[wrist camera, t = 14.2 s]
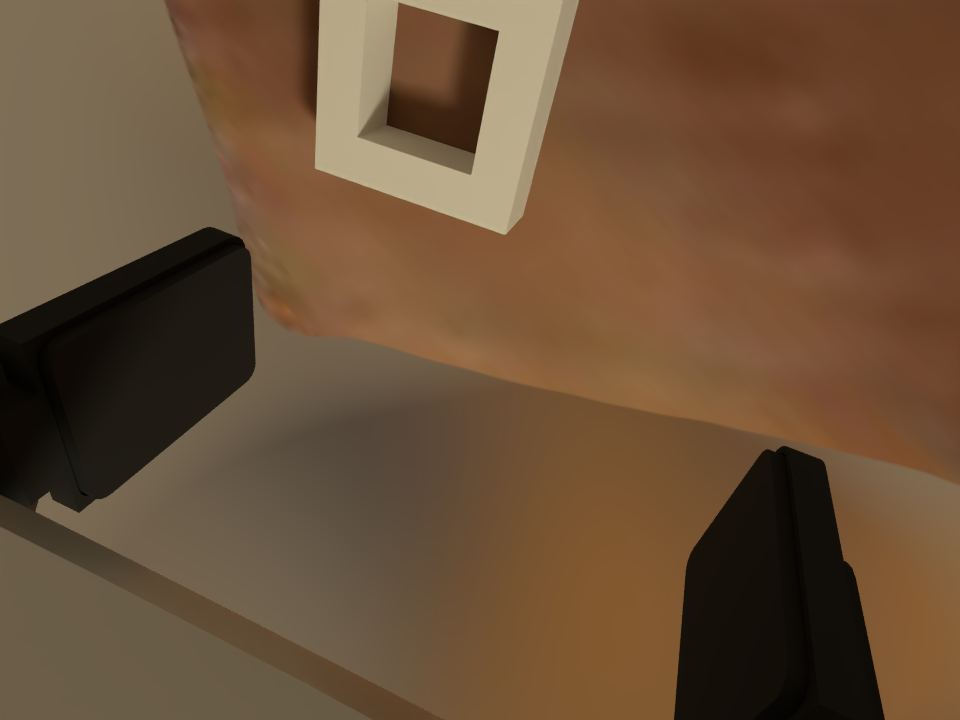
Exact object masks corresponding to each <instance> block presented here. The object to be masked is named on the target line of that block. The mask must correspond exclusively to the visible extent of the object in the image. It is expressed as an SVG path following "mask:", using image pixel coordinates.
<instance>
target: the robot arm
mask: <svg viewBox="0 0 960 720" xmlns="http://www.w3.org/2000/svg"><path fill="white" fill-rule="evenodd" d="M254 369H255V341H254V318H253V294H252V271H251V256H250V252H249V251H248V250H247V249H246V248H245V244H244V242H243V240H242V239H240V238H239V237H237V236H234V235H232V234H229V233H226V232H223V231H221V230H219V229H216V228H212V227H207V228H203V229H201V230H199V231H197V232H195V233H193V234H191V235H189V236H186V237H184V238H182V239H181V240H178V241H176V242H174V243H172V244H169V245H167V246H165V247H163V248H161V249H159V250H157V251H154V252H152V253H150V254H148V255H146V256H144V257H142V258H140V259H137V260H135V261H133V262H131V263H129V264H127V265H125V266H123V267H120V268H118V269H116V270H114V271H112V272H110V273H108V274H105V275H103V276H101V277H99V278H97V279H95V280H93V281H91V282H89V283H86V284H84V285H82V286H80V287H78V288H76V289H74V290H71V291H69V292H67V293H65V294H63V295H61V296H59V297H56V298H54V299H52V300H50V301H48V302H46V303H44V304H42V305H40V306H37V307H35V308H33V309H31V310H29V311H27V312H25V313H22V314H20V315H18V316H16V317H14V318H12V319H10V320H7V321H5V322H3V323H1V324H0V720H444V719H442V718H440V717H438V716H436V715H434V714H432V713H430V712H429V711H426V710H424V709H423V708H420V707H419V706H417V705H415V704H413V703H411V702H409V701H407V700H405V699H403V698H401V697H399V696H397V695H395V694H393V693H392V692H390V691H388V690H386V689H384V688H382V687H380V686H378V685H376V684H374V683H372V682H370V681H368V680H366V679H364V678H362V677H360V676H358V675H356V674H354V673H353V672H351V671H349V670H347V669H345V668H343V667H341V666H339V665H337V664H335V663H333V662H331V661H329V660H327V659H325V658H323V657H321V656H319V655H317V654H315V653H313V652H312V651H309V650H308V649H305V648H304V647H302V646H300V645H298V644H296V643H294V642H292V641H290V640H288V639H286V638H284V637H282V636H280V635H278V634H276V633H274V632H272V631H270V630H268V629H266V628H264V627H262V626H260V625H259V624H256V623H255V622H253V621H251V620H249V619H246V618H245V617H243V616H241V615H239V614H237V613H235V612H233V611H231V610H229V609H227V608H225V607H223V606H221V605H219V604H217V603H215V602H213V601H211V600H209V599H207V598H205V597H203V596H201V595H199V594H197V593H195V592H193V591H191V590H190V589H187V588H186V587H184V586H181V585H179V584H177V583H176V582H174V581H172V580H170V579H168V578H166V577H164V576H162V575H160V574H158V573H156V572H154V571H152V570H150V569H148V568H146V567H144V566H142V565H140V564H138V563H136V562H134V561H132V560H130V559H128V558H126V557H124V556H122V555H120V554H118V553H116V552H114V551H112V550H110V549H108V548H106V547H104V546H102V545H100V544H98V543H96V542H94V541H92V540H90V539H88V538H86V537H84V536H82V535H80V534H78V533H76V532H74V531H72V530H70V529H68V528H66V527H64V526H62V525H60V524H58V523H56V522H54V521H52V520H50V519H48V518H46V517H44V516H42V515H40V514H38V513H36V512H35V511H36V508H37V503H38V499H40V498H41V497H42V496H44V495H45V494H46V493H48V492H49V491H50V494H51V496H52V499H53V500H54V501H56V502H58V503H61V504H63V505H64V506H67V507H69V508H71V509H73V510H74V511H77V512H78V513H79V512H81V511H82V510H83V509H84V508H86V507H87V506H88V505H89V504H91V503H92V502H93V501H94V500H95V499H102V498H105V497H107V496H109V495H110V494H111V493H113V492H114V491H115V490H116V489H118V488H119V487H120V486H121V485H122V484H124V483H125V482H126V481H127V480H129V479H130V478H131V477H132V476H133V475H135V474H136V473H137V472H138V471H140V470H141V469H142V468H143V467H144V466H145V465H147V464H148V463H149V462H150V461H152V460H153V459H154V458H155V457H156V456H158V455H159V454H160V453H161V452H162V451H164V450H165V449H166V448H167V447H169V446H170V445H171V444H172V443H173V442H174V441H176V440H177V439H178V438H179V437H181V436H182V435H183V434H184V433H185V432H187V431H188V430H189V429H190V428H191V427H193V426H194V425H195V424H196V423H198V422H199V421H200V420H201V419H202V418H204V417H205V416H206V415H207V414H208V413H210V412H211V411H212V410H213V409H215V407H217V406H218V405H219V404H220V403H222V402H223V401H224V400H225V399H226V398H228V397H229V396H230V395H231V394H233V393H234V392H235V391H236V390H237V389H239V388H240V387H241V386H242V385H244V384H245V383H246V382H247V381H248V380H249V379H250V377H251V376H252V374H253V372H254ZM674 720H885V719H884V714H883V709H882V704H881V699H880V694H879V689H878V684H877V679H876V674H875V670H874V665H873V660H872V655H871V650H870V645H869V640H868V636H867V631H866V626H865V621H864V616H863V611H862V606H861V602H860V597H859V592H858V587H857V582H856V578H855V575H854V572H853V569H852V567H851V566H850V565H849V564H848V563H847V562H846V561H844V560H843V555H842V550H841V544H840V539H839V534H838V529H837V524H836V518H835V513H834V508H833V503H832V497H831V492H830V487H829V482H828V476H827V471H826V466H825V464H824V462H823V461H822V460H821V459H818V458H816V457H813V456H810V455H808V454H805V453H803V452H800V451H797V450H794V449H792V448H790V447H787V446H782V447H780V448H779V449H778V450H777V451H776V452H774V451H771V450H768V449H767V450H765V451H763V452H762V453H761V455H760V456H759V457H758V459H757V460H756V461H755V463H754V464H753V466H752V467H751V468H750V470H749V471H748V473H747V474H746V476H745V477H744V478H743V480H742V481H741V483H740V484H739V485H738V487H737V488H736V490H735V491H734V492H733V494H732V495H731V497H730V498H729V499H728V501H727V502H726V504H725V505H724V506H723V508H722V509H721V511H720V512H719V513H718V515H717V516H716V517H715V519H714V521H713V522H712V523H711V524H710V526H709V528H708V529H707V530H706V531H705V533H704V535H703V536H702V537H701V539H700V540H699V541H698V543H697V544H696V546H695V547H694V548H693V550H692V552H691V554H690V557H689V559H688V563H687V567H686V576H685V589H684V602H683V615H682V627H681V639H680V652H679V664H678V676H677V689H676V703H675V714H674Z"/></svg>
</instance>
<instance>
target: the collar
mask: <svg viewBox="0 0 960 720" xmlns="http://www.w3.org/2000/svg"><path fill="white" fill-rule="evenodd" d="M398 2H400V3H403V4H407V5H410V6H414V7H417V8H421V9H424V10H428V11H431V12H435V13H438V14H442V15H445V16H448V17H452V18H455V19H459V20H462V21H466V22H469V23H473V24H476V25H480V26H483V27H487V28H490V29H494V30H497V31H499V35H498V41H497V46H496V51H495V56H494V61H493V66H492V71H491V77H490V82H489V87H488V92H487V97H486V102H485V107H484V112H483V118H482V123H481V128H480V133H479V138H478V143H477V148H476V154H474V153H471V152H467V151H464V150H461V149H458V148H455V147H452V146H449V145H446V144H443V143H440V142H437V141H434V140H431V139H428V138H425V137H422V136H419V135H416V134H413V133H410V132H406V131H403V130H400V129H397V128H394V127H391V126H388V125H386V124H387V113H388V103H389V93H390V83H391V73H392V63H393V53H394V43H395V33H396V23H397V13H398ZM578 2H579V0H320V13H319V48H318V83H317V118H316V154H315V169H318V170H321V171H324V172H327V173H329V174H332V175H335V176H338V177H341V178H344V179H347V180H349V181H352V182H355V183H358V184H361V185H364V186H367V187H369V188H372V189H375V190H378V191H381V192H384V193H387V194H389V195H392V196H395V197H398V198H401V199H404V200H407V201H410V202H412V203H415V204H418V205H421V206H424V207H427V208H430V209H432V210H435V211H438V212H441V213H444V214H447V215H450V216H452V217H455V218H458V219H461V220H464V221H467V222H470V223H472V224H475V225H478V226H481V227H484V228H487V229H490V230H492V231H495V232H498V233H501V234H504V235H506V234H507V233H508V231H509V230H510V229H511V228H512V227H513V226H514V225H515V224H516V222H517V221H518V220H519V219H520V218H521V217H522V216H523V213H524V209H525V206H526V202H527V198H528V194H529V190H530V186H531V183H532V179H533V175H534V171H535V167H536V163H537V160H538V156H539V152H540V148H541V144H542V140H543V137H544V133H545V129H546V125H547V121H548V117H549V114H550V110H551V106H552V102H553V98H554V94H555V91H556V87H557V83H558V79H559V75H560V71H561V68H562V64H563V60H564V56H565V52H566V48H567V44H568V41H569V37H570V33H571V29H572V25H573V21H574V18H575V14H576V10H577V6H578Z"/></svg>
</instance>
